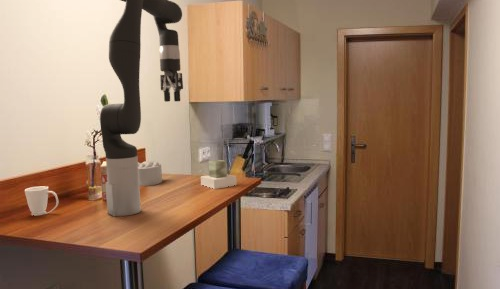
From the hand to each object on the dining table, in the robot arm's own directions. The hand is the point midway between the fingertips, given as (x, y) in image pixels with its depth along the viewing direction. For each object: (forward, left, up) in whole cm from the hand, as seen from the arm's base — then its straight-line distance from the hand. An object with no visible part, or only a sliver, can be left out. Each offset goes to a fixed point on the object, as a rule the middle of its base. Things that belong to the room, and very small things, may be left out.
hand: (172, 101), depth 172 cm
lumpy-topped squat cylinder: (-5, +16, -33) cm, 37 cm away
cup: (-50, -8, -33) cm, 61 cm away
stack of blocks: (-23, +6, -34) cm, 41 cm away
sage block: (+13, -10, -30) cm, 34 cm away
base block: (+13, -10, -33) cm, 37 cm away
